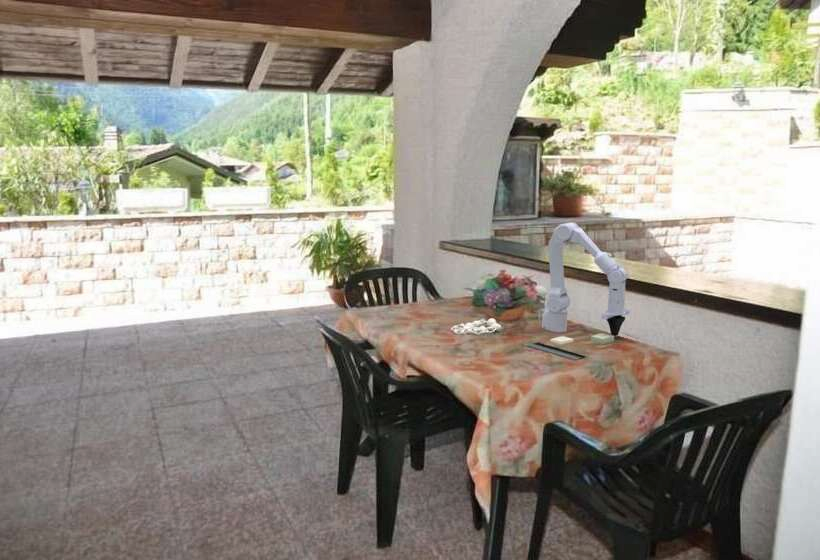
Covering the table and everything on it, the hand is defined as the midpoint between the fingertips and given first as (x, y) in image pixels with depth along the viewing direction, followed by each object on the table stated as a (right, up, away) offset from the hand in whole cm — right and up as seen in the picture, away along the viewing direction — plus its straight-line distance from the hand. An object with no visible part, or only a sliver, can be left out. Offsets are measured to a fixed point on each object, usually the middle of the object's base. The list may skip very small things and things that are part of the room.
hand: (614, 335), depth 223 cm
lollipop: (-21, +3, +36) cm, 41 cm away
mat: (-22, -4, -9) cm, 24 cm away
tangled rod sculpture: (-49, -1, +17) cm, 52 cm away
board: (-10, -3, 0) cm, 10 cm away
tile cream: (-21, -3, -4) cm, 21 cm away
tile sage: (-6, -2, -4) cm, 7 cm away
